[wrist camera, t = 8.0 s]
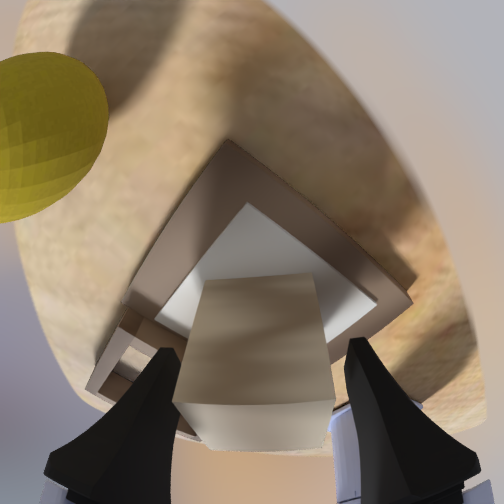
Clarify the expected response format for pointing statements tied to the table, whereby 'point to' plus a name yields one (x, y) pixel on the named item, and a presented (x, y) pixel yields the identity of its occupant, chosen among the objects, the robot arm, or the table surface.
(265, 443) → the block
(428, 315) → the table surface
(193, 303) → the brown divided tray
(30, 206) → the lemon
